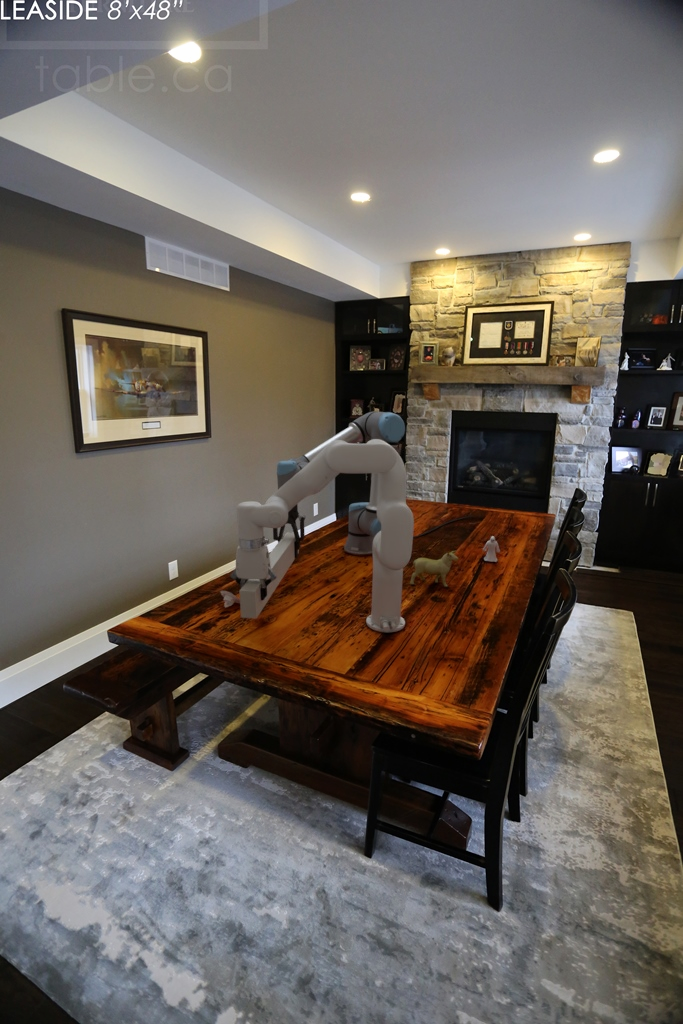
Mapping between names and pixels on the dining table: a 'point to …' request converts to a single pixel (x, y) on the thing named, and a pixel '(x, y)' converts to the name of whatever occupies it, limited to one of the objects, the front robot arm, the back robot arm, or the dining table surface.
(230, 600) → the seashell
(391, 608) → the front robot arm
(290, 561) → the beam
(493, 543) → the figurine
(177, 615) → the dining table surface
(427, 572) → the toy
